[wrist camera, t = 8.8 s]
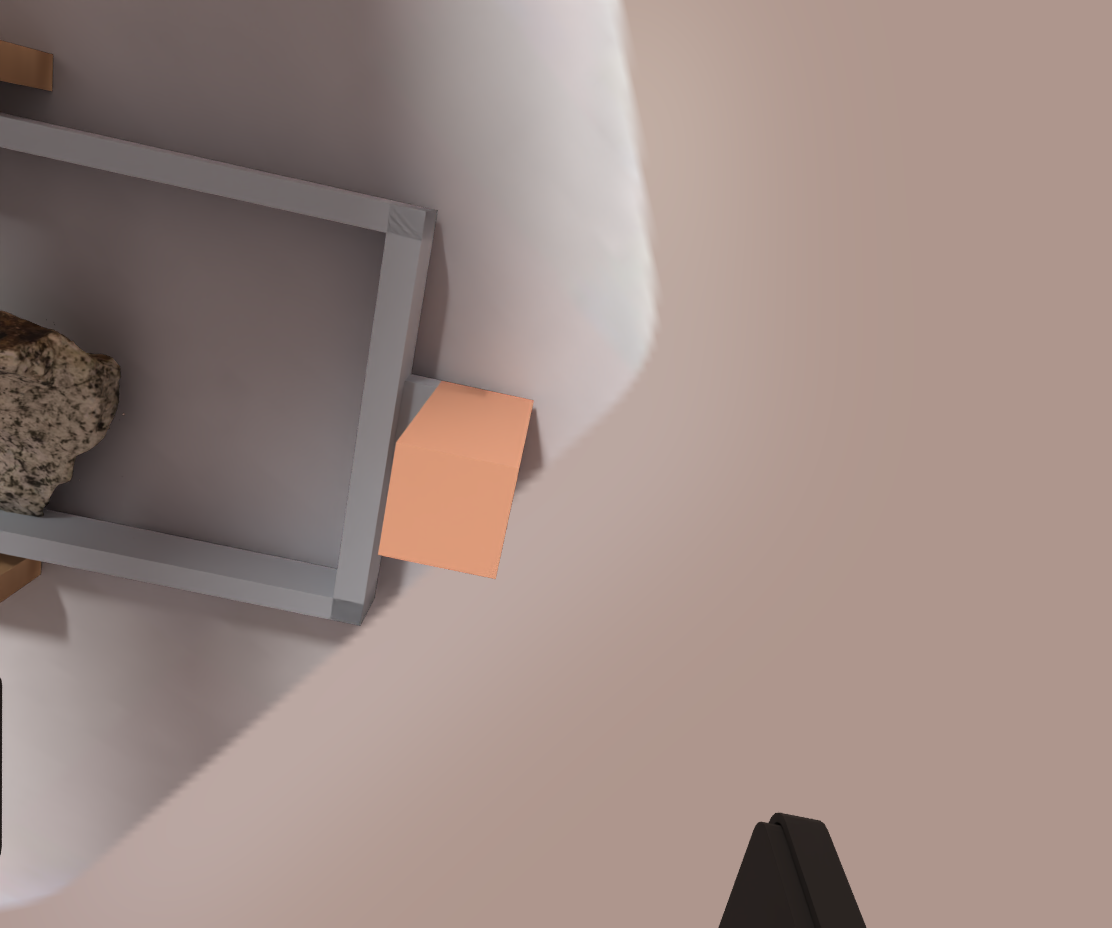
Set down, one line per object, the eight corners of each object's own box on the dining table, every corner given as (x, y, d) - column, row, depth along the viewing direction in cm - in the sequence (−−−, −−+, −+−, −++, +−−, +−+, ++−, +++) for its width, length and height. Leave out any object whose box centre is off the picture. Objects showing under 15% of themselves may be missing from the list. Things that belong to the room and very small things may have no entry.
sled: (-241, 58, 24) (-555, 5, 17) (567, 239, 25) (564, 255, 18) (-208, 479, 28) (-453, 566, 21) (486, 620, 29) (460, 746, 22)
